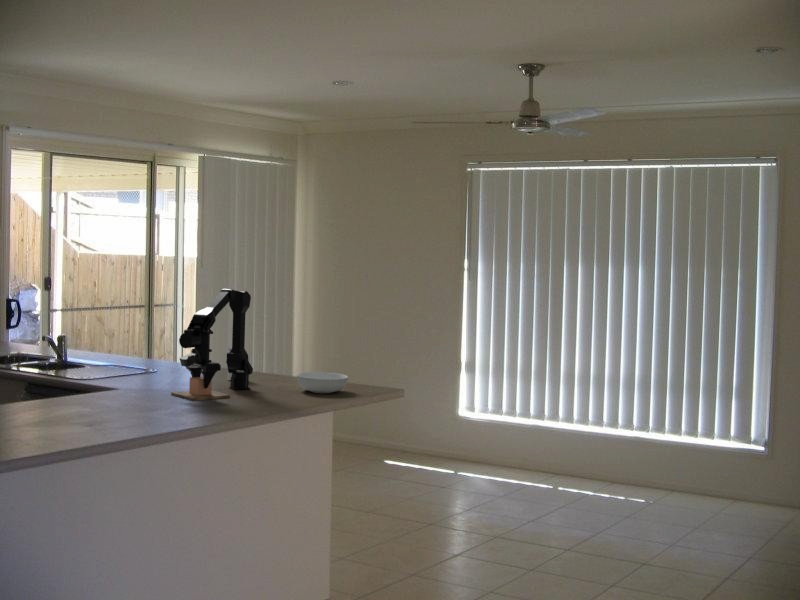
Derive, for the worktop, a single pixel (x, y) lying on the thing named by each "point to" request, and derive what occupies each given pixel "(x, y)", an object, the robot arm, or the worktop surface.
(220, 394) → the walnut board
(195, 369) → the robot arm
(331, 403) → the worktop surface
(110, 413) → the worktop surface
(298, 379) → the serving bowl
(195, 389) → the terracotta cube
